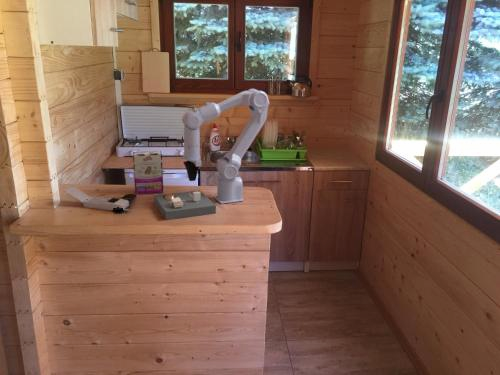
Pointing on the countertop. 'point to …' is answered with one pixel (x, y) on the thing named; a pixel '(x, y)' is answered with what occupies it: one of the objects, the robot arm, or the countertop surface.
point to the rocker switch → (177, 202)
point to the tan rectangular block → (196, 196)
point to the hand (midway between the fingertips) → (192, 180)
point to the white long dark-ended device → (97, 200)
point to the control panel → (184, 205)
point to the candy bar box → (148, 172)
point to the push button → (169, 196)
